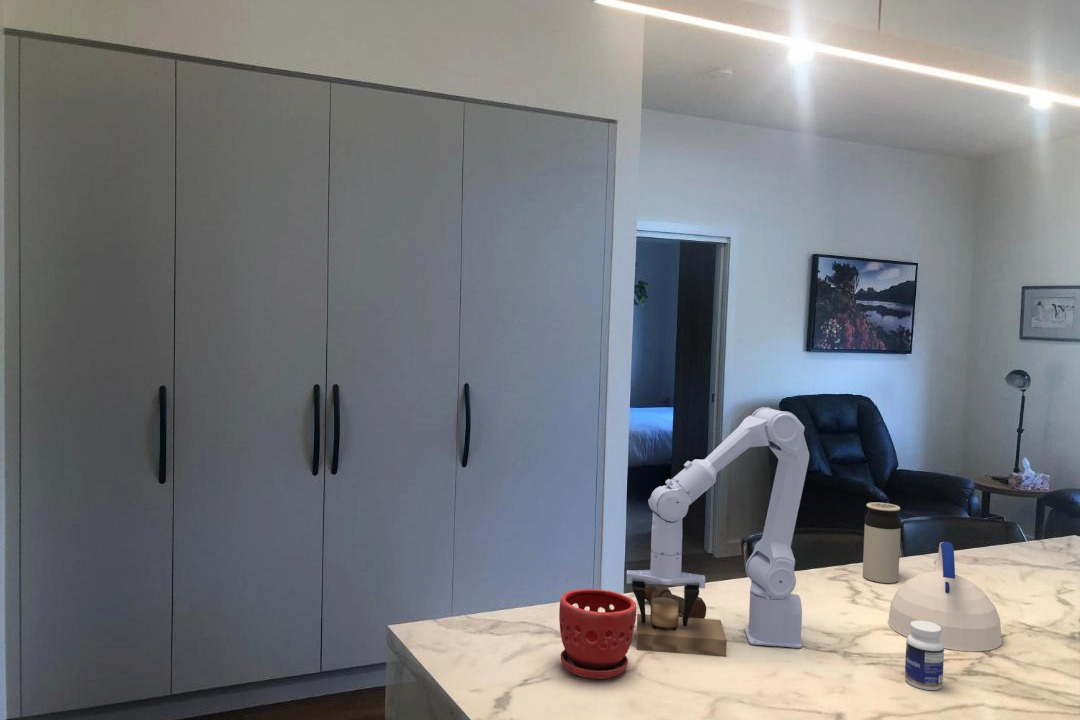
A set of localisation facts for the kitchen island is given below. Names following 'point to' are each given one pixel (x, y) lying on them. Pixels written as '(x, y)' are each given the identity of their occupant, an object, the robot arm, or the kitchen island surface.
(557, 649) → the kitchen island surface
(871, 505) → the travel mug
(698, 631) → the brown flat rectangular block
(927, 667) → the pill bottle
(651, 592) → the bolt
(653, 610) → the oak peg
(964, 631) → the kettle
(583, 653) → the plant pot
